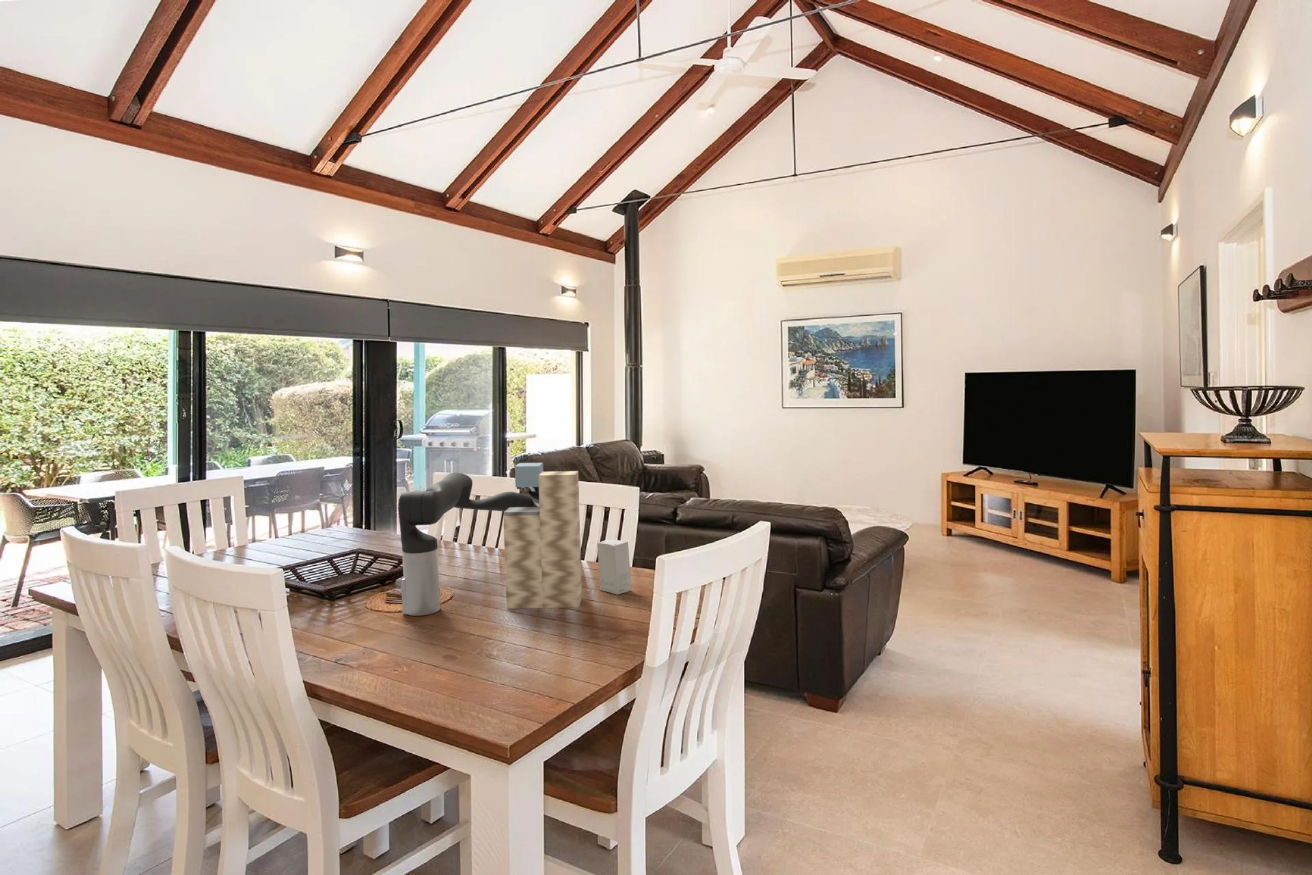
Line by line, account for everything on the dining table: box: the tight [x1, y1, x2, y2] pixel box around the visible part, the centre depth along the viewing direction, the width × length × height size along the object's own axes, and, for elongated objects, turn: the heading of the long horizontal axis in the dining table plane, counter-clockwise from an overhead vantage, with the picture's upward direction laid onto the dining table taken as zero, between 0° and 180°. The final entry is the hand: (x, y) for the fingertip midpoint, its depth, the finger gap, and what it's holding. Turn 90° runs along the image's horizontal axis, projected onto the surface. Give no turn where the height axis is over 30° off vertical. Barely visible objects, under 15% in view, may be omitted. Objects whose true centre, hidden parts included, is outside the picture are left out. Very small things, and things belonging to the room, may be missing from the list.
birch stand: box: [502, 470, 583, 610], centre depth 203 cm, size 20×8×37 cm, turn 90°
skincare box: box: [596, 538, 632, 595], centre depth 216 cm, size 8×6×15 cm
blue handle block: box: [514, 462, 544, 488], centre depth 217 cm, size 7×16×6 cm, turn 0°
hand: (533, 473), depth 219 cm, fingers closed on blue handle block, 3 cm apart
